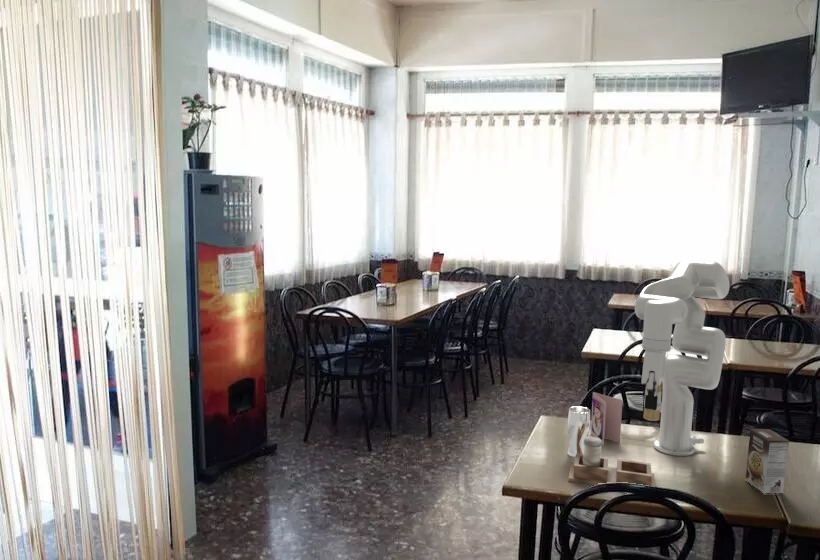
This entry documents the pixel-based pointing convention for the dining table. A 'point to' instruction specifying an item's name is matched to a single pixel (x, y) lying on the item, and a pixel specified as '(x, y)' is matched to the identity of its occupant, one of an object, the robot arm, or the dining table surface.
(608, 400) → the greeting card
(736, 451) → the dining table surface
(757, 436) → the coffee box
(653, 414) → the sprinkles bottle
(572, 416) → the silver metal can
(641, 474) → the condiment rack
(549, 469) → the dining table surface
